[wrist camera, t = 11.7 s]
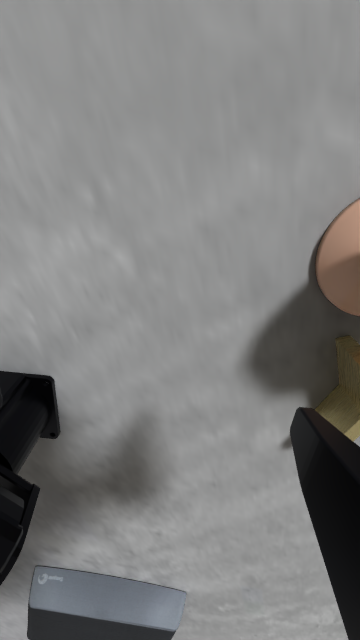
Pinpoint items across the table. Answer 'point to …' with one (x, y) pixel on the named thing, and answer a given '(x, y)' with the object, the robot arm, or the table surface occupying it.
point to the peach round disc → (341, 260)
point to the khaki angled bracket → (345, 390)
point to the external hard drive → (100, 607)
